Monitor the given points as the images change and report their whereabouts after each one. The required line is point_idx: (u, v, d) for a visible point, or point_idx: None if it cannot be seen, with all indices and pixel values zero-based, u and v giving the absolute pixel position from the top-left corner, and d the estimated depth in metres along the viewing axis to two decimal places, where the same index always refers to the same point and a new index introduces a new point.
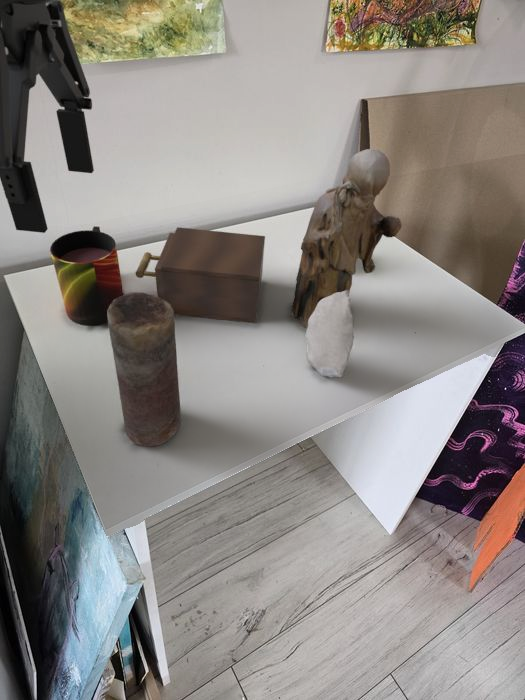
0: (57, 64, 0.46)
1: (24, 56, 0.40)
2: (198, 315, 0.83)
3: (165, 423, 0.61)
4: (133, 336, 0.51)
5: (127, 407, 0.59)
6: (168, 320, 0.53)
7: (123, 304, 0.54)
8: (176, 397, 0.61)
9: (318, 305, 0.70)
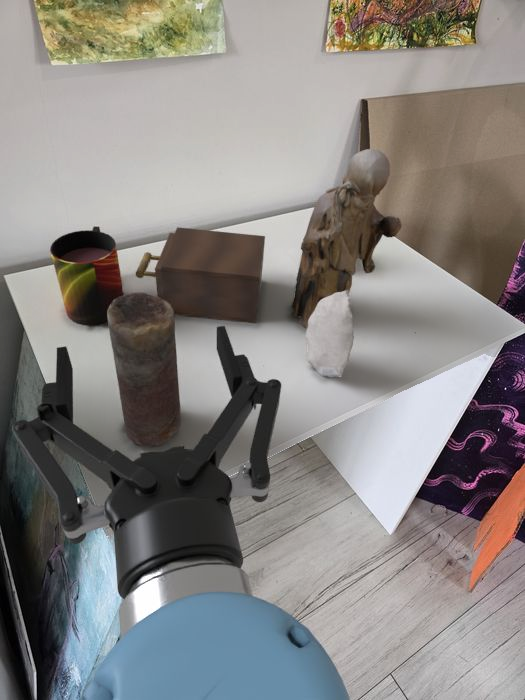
0: None
1: None
2: (198, 315, 0.83)
3: (165, 423, 0.61)
4: (133, 336, 0.51)
5: (127, 407, 0.59)
6: (168, 320, 0.53)
7: (123, 304, 0.54)
8: (176, 397, 0.61)
9: (318, 305, 0.70)
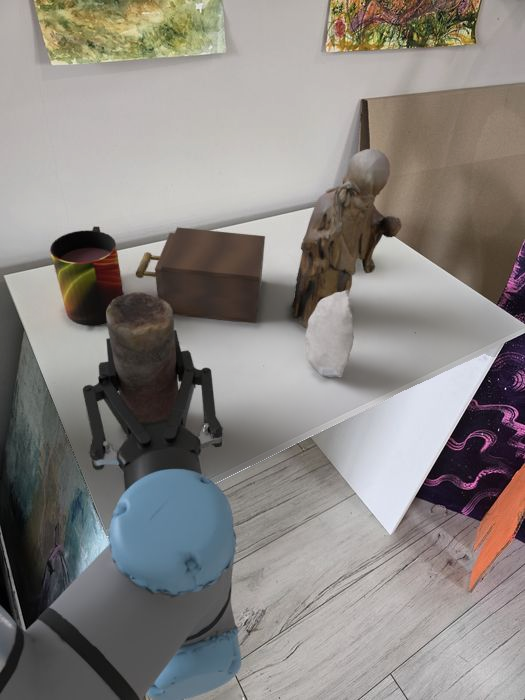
0: None
1: None
2: (198, 315, 0.83)
3: None
4: (132, 336, 0.51)
5: None
6: (167, 320, 0.53)
7: (122, 304, 0.54)
8: (176, 397, 0.61)
9: (318, 305, 0.70)
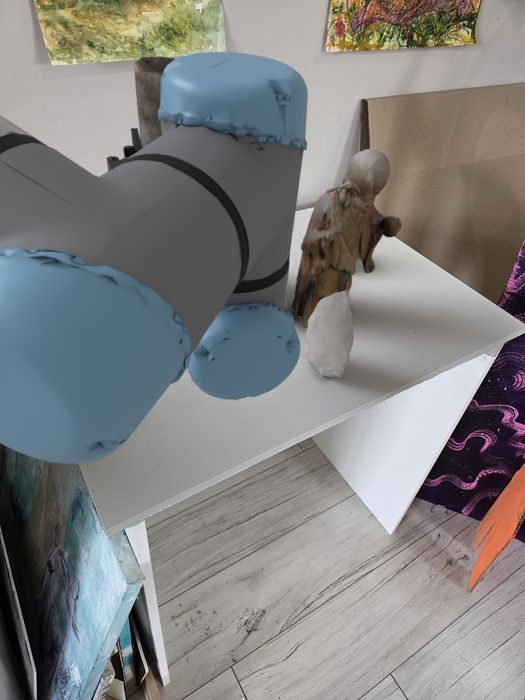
0: None
1: None
2: None
3: None
4: None
5: None
6: None
7: (151, 62, 0.49)
8: None
9: (318, 305, 0.70)
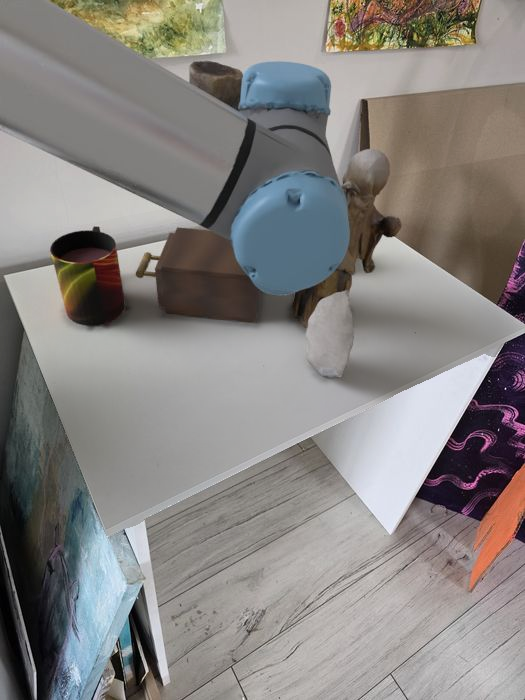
0: None
1: None
2: (198, 315, 0.83)
3: None
4: (213, 81, 0.61)
5: None
6: (239, 76, 0.64)
7: (201, 65, 0.64)
8: None
9: (318, 305, 0.70)
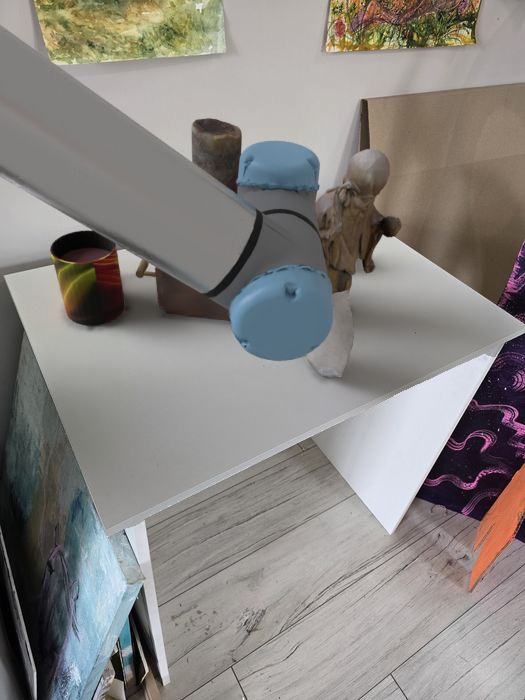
0: None
1: None
2: (198, 315, 0.83)
3: None
4: (214, 140, 0.66)
5: None
6: (238, 134, 0.69)
7: (203, 123, 0.69)
8: None
9: None
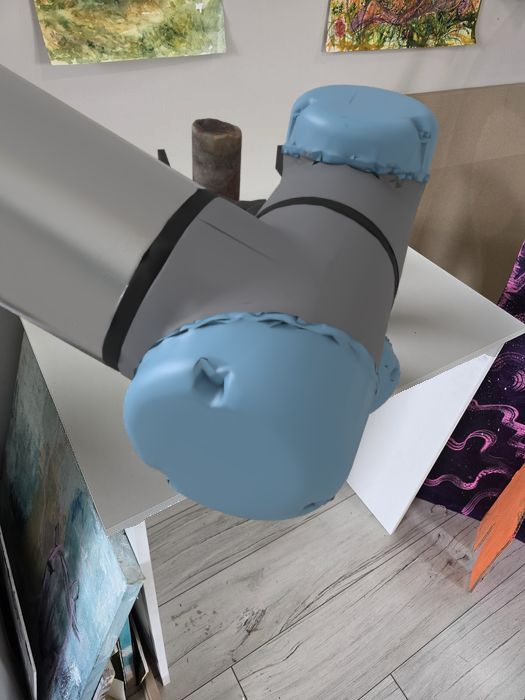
0: None
1: None
2: None
3: None
4: (214, 140, 0.66)
5: None
6: (238, 134, 0.69)
7: (203, 123, 0.69)
8: None
9: None
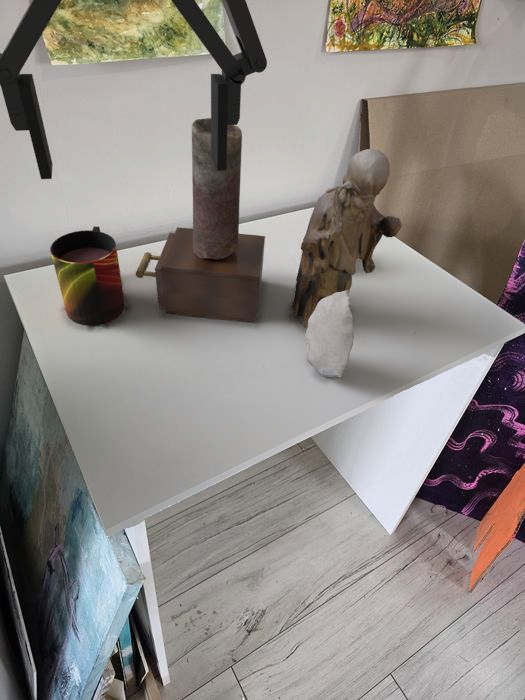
0: None
1: None
2: (198, 315, 0.83)
3: (228, 236, 0.77)
4: None
5: (200, 218, 0.75)
6: (238, 134, 0.69)
7: (203, 123, 0.69)
8: (238, 214, 0.76)
9: (318, 305, 0.70)
